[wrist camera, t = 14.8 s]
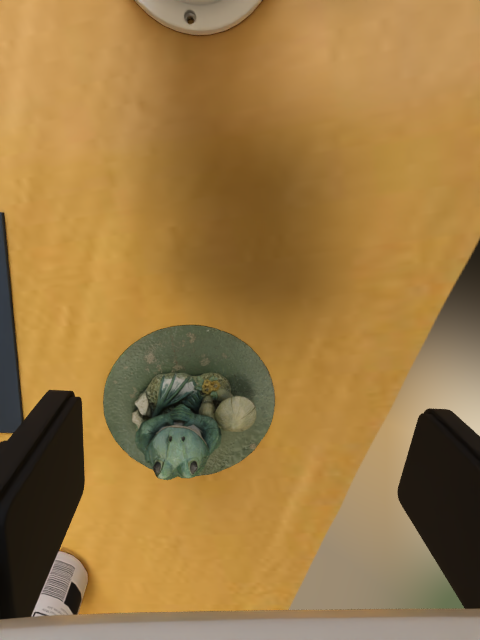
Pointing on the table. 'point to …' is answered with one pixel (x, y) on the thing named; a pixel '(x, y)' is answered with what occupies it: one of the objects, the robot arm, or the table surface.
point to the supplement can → (62, 587)
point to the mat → (8, 348)
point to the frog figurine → (188, 401)
